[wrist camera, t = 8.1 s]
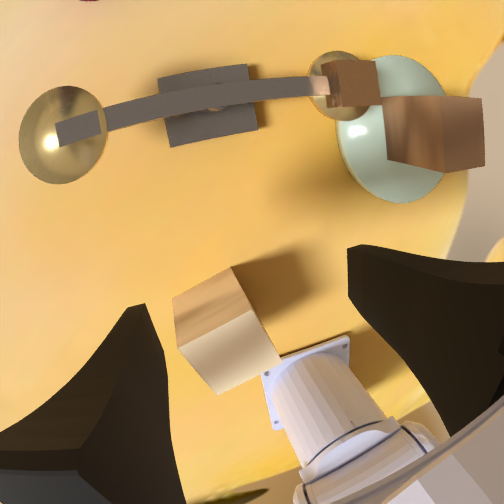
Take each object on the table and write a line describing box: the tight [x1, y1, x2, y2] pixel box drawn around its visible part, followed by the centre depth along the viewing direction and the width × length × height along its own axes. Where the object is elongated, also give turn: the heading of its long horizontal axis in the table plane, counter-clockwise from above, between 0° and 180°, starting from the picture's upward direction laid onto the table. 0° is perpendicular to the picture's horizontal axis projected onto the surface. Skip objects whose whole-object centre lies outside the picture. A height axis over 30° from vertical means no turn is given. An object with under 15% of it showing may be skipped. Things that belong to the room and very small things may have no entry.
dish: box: [335, 55, 446, 203], centre depth 20 cm, size 11×11×1 cm
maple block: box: [172, 267, 282, 396], centre depth 19 cm, size 4×4×6 cm
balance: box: [19, 51, 382, 184], centre depth 14 cm, size 4×18×6 cm, turn 100°
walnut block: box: [381, 96, 485, 173], centre depth 17 cm, size 4×4×6 cm
